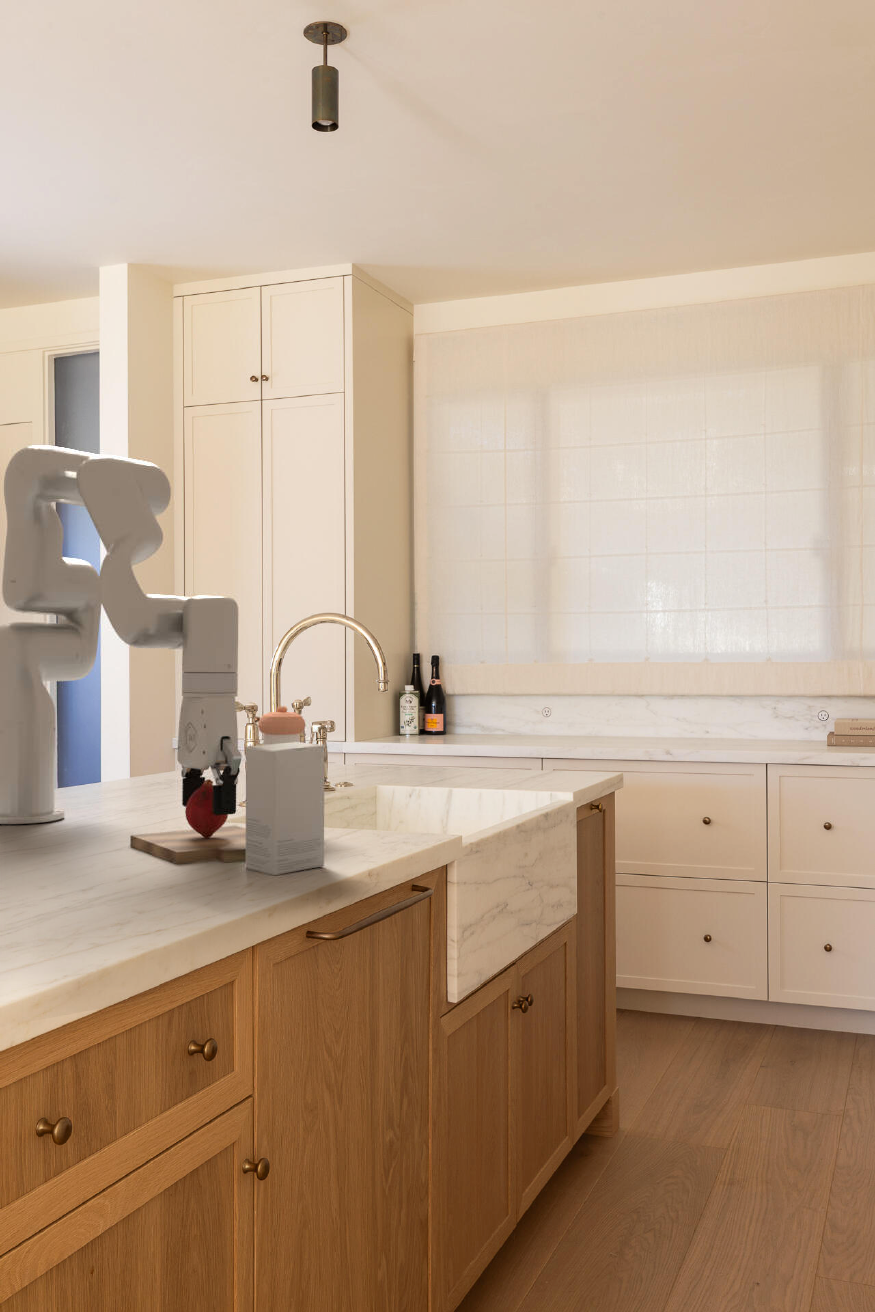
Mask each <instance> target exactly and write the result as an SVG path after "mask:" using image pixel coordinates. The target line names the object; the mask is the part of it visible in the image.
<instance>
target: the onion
mask: <svg viewBox="0 0 875 1312" xmlns="http://www.w3.org/2000/svg"><path fill="white" fill-rule="evenodd" d="M213 785H214V781H212V780H211V779H205V782H204V783H203V785H202V786H201V787H200V788H199V789H197V790H196V791H195V792H194V793H193V794H192V795H191V797H190V798H189V800H188V802H187V805H186V807H185V811H184V813H185V818H186V821H187V823H188V825H189V826H190V827H191V828H192V830H193V829H194V830H195V831H196V832H198V833H199V834H201V835H202V836H203V837H205V838H207V837H211V836H212V835H213V834H214V833H215V832H216V831H217V830H218V829H219V828H221V827H224V825H225V823H226V821H227V820H228V815H229V814H228V815H214V814H213Z"/></svg>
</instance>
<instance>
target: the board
mask: <svg viewBox="0 0 875 1312" xmlns="http://www.w3.org/2000/svg"><path fill="white" fill-rule="evenodd" d="M129 840H130V845H129V846H130V847H132V848H135V849H138V850H140V851H142V852H145V853H147V854H151V855H153V856H155V857H158V858H161V859H163V860H166V861H168V862H172V863H173V864H177V865H182V864H190V863H197V862H198V863H199V862H207V861H208V862H209V861H220V862H223V863H234V862H241V861H246V827H242V826H238V825H227V826H222V827H221V828H219V829H218V830H217V831H216V832H215V833H214V834H213V835H212V836H211V837H207V838H205V837H203V836H202V835H201V834H199V833H198V832H196V831H195V830H194V829H193V828H192V829H184V830H182V829H181V830H175V831H174V830H173V831H165V832H163V831H162V832H161V831H160V832H152V833H139V834H130V839H129Z"/></svg>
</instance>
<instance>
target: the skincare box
mask: <svg viewBox="0 0 875 1312" xmlns="http://www.w3.org/2000/svg"><path fill="white" fill-rule="evenodd" d="M325 753H326V745H325V744H319V743H318V744H317V743H309V742H301V741H300V742H291V743H280V744H270V745H263V744H261V745H258V744H257V745H247V746H245V828H246V860H245V865H244V867H245V869H247V870H251V871H255V872H259V873H263V874H268V875H271V876H278V875H284V874H289V873H293V872H299V871H305V870H309V869H314V868H322V867H325V755H326V754H325Z"/></svg>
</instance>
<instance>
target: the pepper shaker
mask: <svg viewBox="0 0 875 1312" xmlns="http://www.w3.org/2000/svg"><path fill="white" fill-rule="evenodd" d="M257 726H258V730H259V732H260V733H262V734H263V741H262V742H263V744H262V745H270V744H280V743H291V742H301V735H300V734H301V733H303V732H305V729H306V726H307V725H306V721H305V719H304V718H303V716H302V715H300V714H298V713H297V712H293V711H288V708H287V706H284V705H283V706H282V705H281V706H277V708H276V711H273V712H271V711H270V712H267V713H265V714H263V715H261V717H260V718H259V720H258V723H257Z"/></svg>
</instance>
